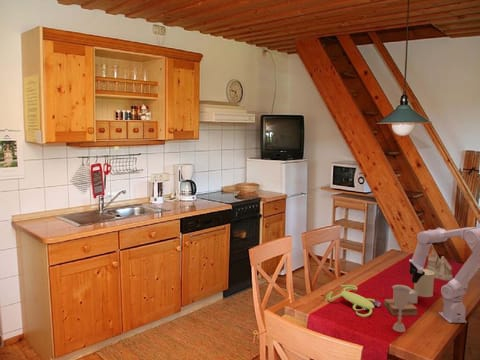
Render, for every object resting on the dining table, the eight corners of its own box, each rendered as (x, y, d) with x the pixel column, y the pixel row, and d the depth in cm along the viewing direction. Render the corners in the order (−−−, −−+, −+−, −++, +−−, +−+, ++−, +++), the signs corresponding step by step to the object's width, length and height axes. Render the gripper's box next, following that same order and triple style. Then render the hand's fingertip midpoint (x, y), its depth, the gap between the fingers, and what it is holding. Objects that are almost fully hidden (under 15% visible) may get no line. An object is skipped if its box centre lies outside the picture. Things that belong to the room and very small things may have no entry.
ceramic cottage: (447, 281, 233) (449, 254, 232) (418, 274, 246) (420, 248, 245) (460, 277, 243) (461, 251, 242) (431, 270, 256) (433, 245, 255)
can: (435, 297, 211) (436, 274, 210) (415, 296, 213) (416, 273, 212) (430, 290, 220) (432, 268, 219) (411, 289, 222) (413, 267, 220)
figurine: (346, 291, 220) (346, 281, 219) (390, 310, 198) (390, 298, 197) (320, 299, 210) (320, 288, 209) (363, 319, 188) (364, 307, 187)
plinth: (417, 315, 192) (417, 308, 191) (393, 315, 191) (393, 309, 191) (406, 304, 203) (407, 298, 202) (383, 305, 202) (384, 299, 202)
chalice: (404, 325, 182) (406, 284, 180) (411, 332, 176) (413, 291, 173) (387, 325, 182) (389, 284, 180) (393, 332, 175) (396, 291, 173)
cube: (417, 303, 205) (417, 293, 204) (406, 303, 205) (407, 293, 204) (412, 299, 210) (413, 289, 209) (402, 299, 210) (403, 289, 209)
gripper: (409, 245, 210) (402, 268, 214) (414, 259, 196) (406, 284, 201) (424, 248, 209) (416, 271, 213) (430, 263, 195) (422, 287, 200)
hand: (412, 278), depth 207 cm, fingers open, 7 cm apart
